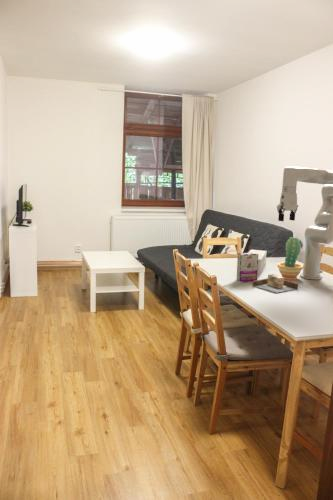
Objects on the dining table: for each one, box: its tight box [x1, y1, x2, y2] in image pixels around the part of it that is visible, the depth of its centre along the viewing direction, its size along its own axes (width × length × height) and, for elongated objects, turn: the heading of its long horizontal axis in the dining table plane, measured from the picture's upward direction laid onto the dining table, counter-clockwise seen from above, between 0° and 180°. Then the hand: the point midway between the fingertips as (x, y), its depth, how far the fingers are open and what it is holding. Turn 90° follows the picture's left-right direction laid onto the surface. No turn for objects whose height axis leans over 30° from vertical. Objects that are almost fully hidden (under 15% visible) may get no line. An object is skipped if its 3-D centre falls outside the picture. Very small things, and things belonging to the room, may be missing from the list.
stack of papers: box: [247, 249, 268, 277], centre depth 281 cm, size 32×11×11 cm, turn 161°
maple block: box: [267, 273, 285, 287], centre depth 244 cm, size 8×4×5 cm, turn 37°
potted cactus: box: [276, 236, 304, 281], centre depth 262 cm, size 15×15×25 cm
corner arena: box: [251, 277, 299, 294], centre depth 241 cm, size 18×17×3 cm
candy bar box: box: [236, 252, 258, 283], centre depth 252 cm, size 11×5×16 cm, turn 105°
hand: (286, 220), depth 244 cm, fingers open, 9 cm apart
